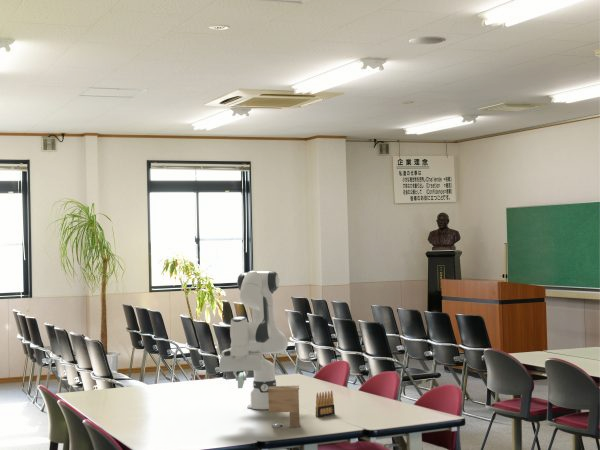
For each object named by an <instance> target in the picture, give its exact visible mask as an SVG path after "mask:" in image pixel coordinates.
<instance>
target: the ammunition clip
mask: <svg viewBox="0 0 600 450" xmlns="http://www.w3.org/2000/svg"><path fill="white" fill-rule="evenodd" d="M335 413H336V411H335V404H334V392H333V390H328V391H325V392H324V391H322V392H321V391H320V392H317V393H316V401H315V418H318V419H320V418H324V416H325V417H330V416H336V414H335Z"/></svg>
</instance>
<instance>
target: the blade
mask: <svg viewBox="0 0 600 450" xmlns="http://www.w3.org/2000/svg"><path fill="white" fill-rule="evenodd" d="M238 376H239V377H238ZM238 376H237V377H238V381H237V389H243V387H244V385H245V384H244V383H245V380H243V376H245V371H240V372H239V375H238Z"/></svg>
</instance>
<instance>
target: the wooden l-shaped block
mask: <svg viewBox="0 0 600 450" xmlns="http://www.w3.org/2000/svg"><path fill="white" fill-rule="evenodd" d="M299 390H300V385H279V386H278V385H276V386H270V387H268V398H269V409H268V414H271V413H272V414H273V413H289V428H300V427H301V423H300V422H301V420H300V398H299V397H300V395H299V394H300V392H299Z"/></svg>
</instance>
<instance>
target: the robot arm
mask: <svg viewBox="0 0 600 450" xmlns="http://www.w3.org/2000/svg"><path fill="white" fill-rule="evenodd" d="M278 274H279V273H277V272H276V271H273V270H270V271H267V270H258V271H256V270H251V271H247V272H242V273H240V274H239V275H238V277H237V281H236V282H237V284H236V285H237V287H238V290H239V299H240V301H241V302H242V304H244V305H245V306H246V307H248V308H250V309H252V310H251V311H252V313H251V314H252V315H251V316H252V321H253V322H251V321H250V322H249V321H248V319H247V317H245V316H234V317H232V318H231V320H230V327H229V335H230V342H231V343H230V348H226V349H224V350H222V351H221V357H220V359H219V366H218V367H219V371H220V372H222V373H224V372H228V373H229V372H233V373H232V374H233V376H234V377H235V381H237V382H238V377H239V375H237V372H244V376H243V380H244V381H247V376H248V374H249V371H251V372H252V371H253V383H252V387H253V389H252V390H251V391H250V404H248V405H247V409H252V410H253V409H254V410H269V398H268V387H270V386H277V380H276V369H275V368H276V367H275V364H274V363H273V362H271V361H270V360H268V359H266V358H264V356H263V355H265V354H267V355H268V354H279V353H283V352H285V351H286V350H287V349H288V345H289V340H288V338H287V336H286V335H285V334H284V333H283V332H282V331H281V330H280V329H279V328H278V326H277V324H276V322H275V317H274V299H273V294H274V292H276V291H277V290H278V288H279V286H280V278H279V275H278Z"/></svg>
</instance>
